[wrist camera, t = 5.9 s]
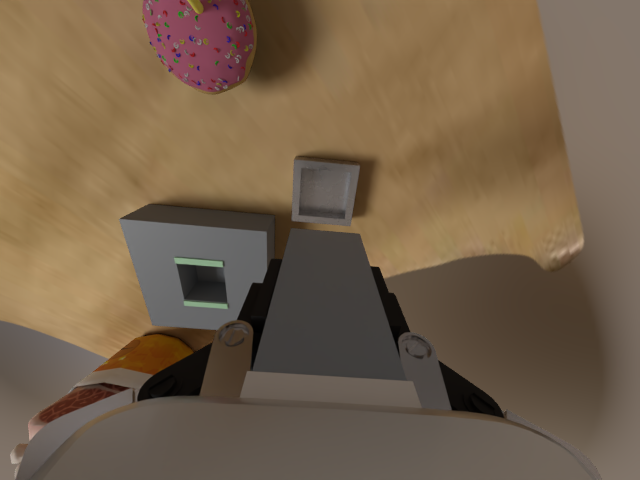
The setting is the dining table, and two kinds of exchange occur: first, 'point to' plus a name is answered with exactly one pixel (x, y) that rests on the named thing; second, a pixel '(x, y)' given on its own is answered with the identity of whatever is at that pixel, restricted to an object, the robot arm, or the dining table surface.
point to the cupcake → (203, 40)
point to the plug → (328, 329)
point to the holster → (324, 190)
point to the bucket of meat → (111, 379)
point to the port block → (197, 261)
